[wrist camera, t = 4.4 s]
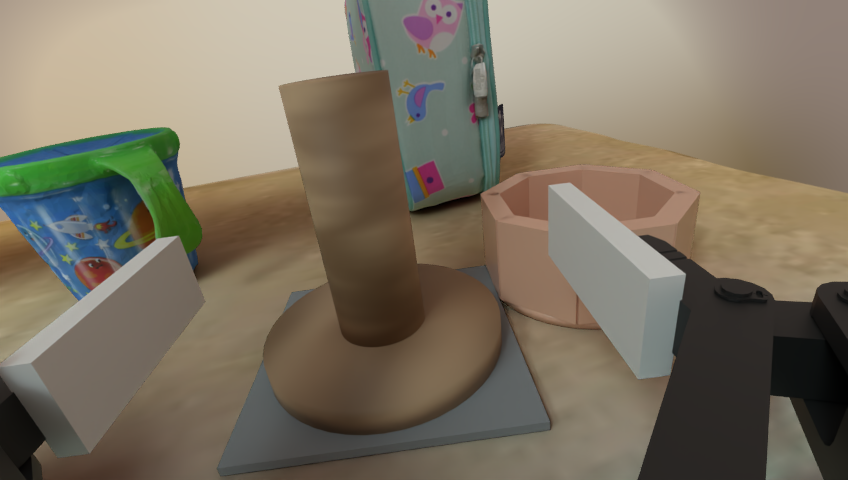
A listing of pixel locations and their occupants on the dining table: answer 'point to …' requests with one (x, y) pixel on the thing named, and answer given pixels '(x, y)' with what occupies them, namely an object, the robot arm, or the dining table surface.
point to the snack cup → (98, 202)
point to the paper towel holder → (371, 280)
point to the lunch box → (435, 91)
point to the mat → (472, 420)
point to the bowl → (528, 231)
